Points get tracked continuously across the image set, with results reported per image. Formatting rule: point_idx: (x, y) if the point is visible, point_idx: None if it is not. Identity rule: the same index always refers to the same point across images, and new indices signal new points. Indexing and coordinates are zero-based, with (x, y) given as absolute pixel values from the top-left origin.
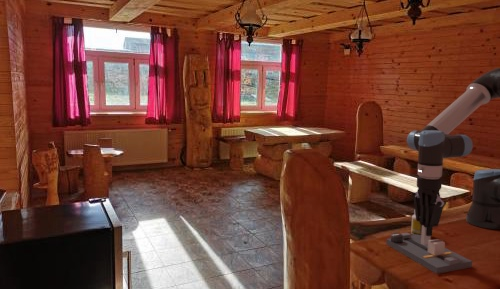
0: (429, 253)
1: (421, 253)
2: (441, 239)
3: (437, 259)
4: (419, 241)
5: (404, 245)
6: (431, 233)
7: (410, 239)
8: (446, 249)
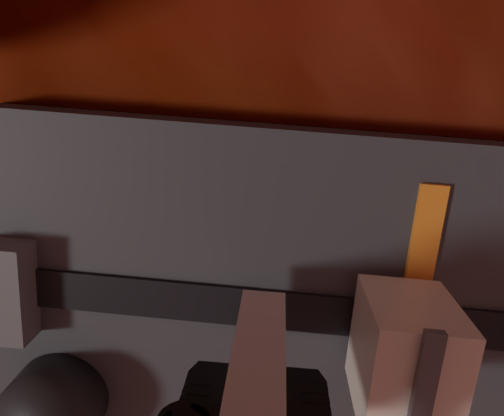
0: None
1: None
2: (433, 336)
3: None
4: (124, 230)
5: (153, 399)
6: (327, 400)
7: (71, 279)
8: (361, 153)
